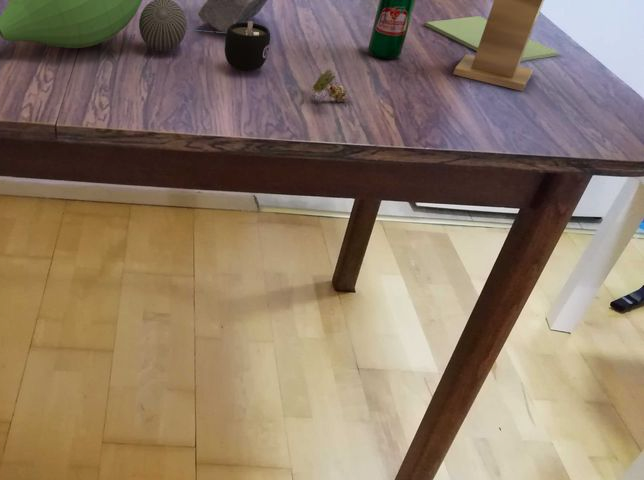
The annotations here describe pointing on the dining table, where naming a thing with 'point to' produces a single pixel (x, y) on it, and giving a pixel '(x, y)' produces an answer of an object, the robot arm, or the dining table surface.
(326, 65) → the dining table surface
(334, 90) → the soldier figurine
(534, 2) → the stand
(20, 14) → the balloon
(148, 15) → the lollipop
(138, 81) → the dining table surface
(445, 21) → the mat
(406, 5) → the soda can
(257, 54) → the mug
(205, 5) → the rock
